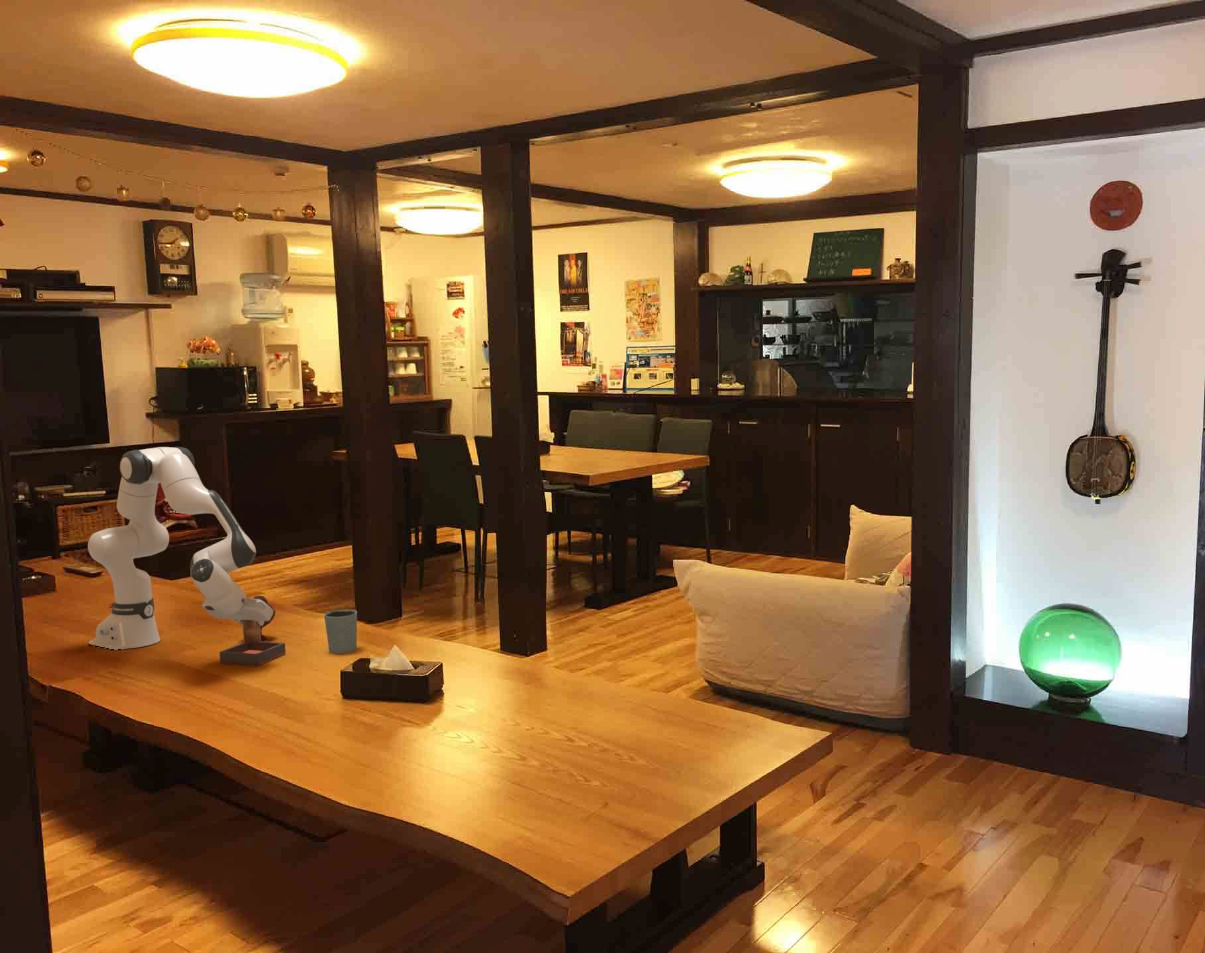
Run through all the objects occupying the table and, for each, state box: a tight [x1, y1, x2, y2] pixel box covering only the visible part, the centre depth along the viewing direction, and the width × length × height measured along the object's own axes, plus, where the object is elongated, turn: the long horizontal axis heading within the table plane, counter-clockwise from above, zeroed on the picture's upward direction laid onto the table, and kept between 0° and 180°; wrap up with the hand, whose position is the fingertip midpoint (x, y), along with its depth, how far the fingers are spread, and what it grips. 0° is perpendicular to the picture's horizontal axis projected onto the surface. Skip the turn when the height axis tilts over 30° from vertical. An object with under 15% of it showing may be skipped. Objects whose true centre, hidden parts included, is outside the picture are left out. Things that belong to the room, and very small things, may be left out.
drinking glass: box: [323, 609, 358, 655], centre depth 324 cm, size 10×10×12 cm
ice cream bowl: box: [251, 595, 276, 642], centre depth 338 cm, size 11×11×15 cm
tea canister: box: [242, 620, 262, 643], centre depth 316 cm, size 5×5×10 cm
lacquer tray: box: [219, 641, 286, 667], centre depth 317 cm, size 14×14×4 cm
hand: (252, 623), depth 316 cm, fingers closed on tea canister, 5 cm apart
